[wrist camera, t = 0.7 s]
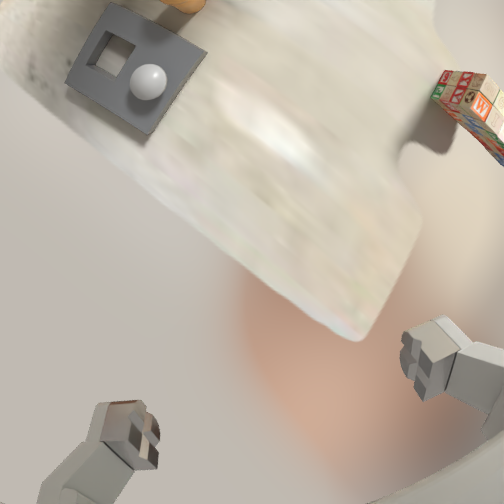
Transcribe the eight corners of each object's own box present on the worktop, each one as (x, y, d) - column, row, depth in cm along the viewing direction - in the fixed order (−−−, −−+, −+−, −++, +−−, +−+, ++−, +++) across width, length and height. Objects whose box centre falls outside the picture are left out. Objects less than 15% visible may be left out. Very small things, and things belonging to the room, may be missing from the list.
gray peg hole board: (74, 81, 39) (53, 84, 34) (119, 5, 32) (101, -2, 27) (153, 131, 44) (139, 139, 39) (207, 52, 38) (199, 49, 33)
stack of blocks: (513, 140, 40) (554, 161, 29) (500, 165, 43) (539, 190, 32) (443, 69, 36) (487, 73, 25) (428, 97, 39) (470, 108, 28)
